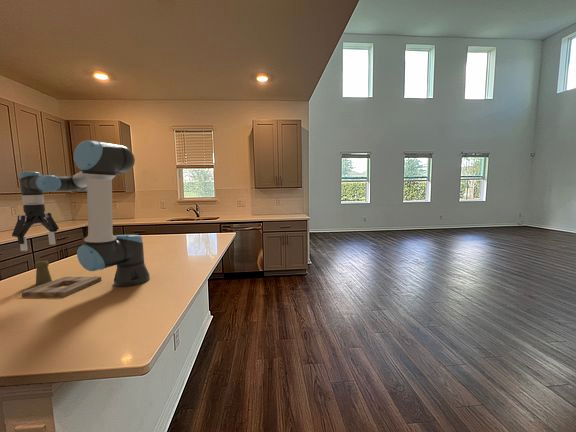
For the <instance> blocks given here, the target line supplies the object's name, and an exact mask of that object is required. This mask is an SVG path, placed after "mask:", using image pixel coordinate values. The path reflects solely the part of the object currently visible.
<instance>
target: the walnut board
mask: <svg viewBox="0 0 576 432" xmlns="http://www.w3.org/2000/svg"><path fill="white" fill-rule="evenodd" d="M102 280H103V279H102V276H62V277H59V278H57V279H53V280H52V281H51V282H48V283H45V284H43V285H36V286H35V287H32V288H30V289H27V290H24V291H21V297H23V298H25V297H26V298H29V297H31V298H34V297H35V298H37V297H38V298H41V297H42V298H66V297H69V296H70V295H73V294H75V293H76V292H79V291H81V290H83V289H86V288H88V287H90V286H92V285H95V284H98V283H99V282H102ZM64 285H66V286H64ZM62 286H64V287H62Z"/></svg>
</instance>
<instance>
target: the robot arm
mask: <svg viewBox="0 0 576 432" xmlns="http://www.w3.org/2000/svg"><path fill="white" fill-rule="evenodd" d="M73 161H74V164H75V166H76V168H78V169H79V170H81V171H79V172H77V173H75V174H73V175H51V174H41V173H40V172H39V171H20V172H19V173H18V176H19V177H18V178H19V179H18V180H19V184H20V185H19V187H20V192H21V200H22V204H24V205H23V206H22V207H23V213H24V215H22V214H21V215H19V214H18V216H17V222H16V224H15V226H14V229H13V231H12V233H11V237H14V238H17V243H18V244H19V247H20V252H27V251H29V249H28V248H29V247H28V241H27V236H26V234H27V232H28V231H29V229H30V228H31V226H33V225H34V224H35V225H36V224H41V225H42V226H43V227H44V228H45V229H47V230H48V232H47V236H48V243H49V245H50V246H51V245H54V246H55V245H56V232H58V230H59V229H60V228H59V226H58V224H57V223H56V221H55V220H54V218H53V217H52V216H53V215H52V213H51V212H46V206H45V204H44V203H45V197H44V192H45V193H46V192H47V193H48V192H50V193H51V192H83V191H86V193H87V194H86V196H87V197H86V199H87V200H86V201H87V203H86V204H87V230H88V231H87V232H88V233H87V236H86V237H84V239H83V244H82V245H81V246H79V247H78V248H77V251H76V256H77V260H78V262H79V264H80V265H81V266H82V268H83V269H85V270H86V271H88V272H96V271H102V270H104V269H107V268H111V267H114V266H116V271H115V274H114V278H113V285H114V286H115V287H132V286H136V285H140V284H143V283H146V282H147V281H149V280H150V278H151V277H150V272H149V270H148V268H147V266H146V263H145V254H144V242H143V237H142V235H139V234H116V235H115V234H114V233H113V231H114V229H113V227H114V226H113V223H114V222H113V179H114V178H115V177H116V176H117V175H122V174H125V173H127V172H129V171H131V170H132V169H133V167H134V166H135V161H136V159H135V156H134V154H133V152H132V150H130V149H129V148H128V147H127V146H124V145H121V144H116V143H109V142H106V141H105V142H104V141H99V140H87V139H86V140H83V141H81V142H79V143H78V145H76V147H75V149H74V151H73Z"/></svg>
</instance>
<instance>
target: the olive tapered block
mask: <svg viewBox="0 0 576 432" xmlns="http://www.w3.org/2000/svg"><path fill="white" fill-rule="evenodd" d="M49 265H50V263H49V261H48V260H39V261H36V262H34V268H35V270H36V271H35V274H36V275H35V285H36V286H40V285H43V284H45V283H48V282H51V281H53V280H52V275H51V274H50V270H49Z"/></svg>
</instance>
